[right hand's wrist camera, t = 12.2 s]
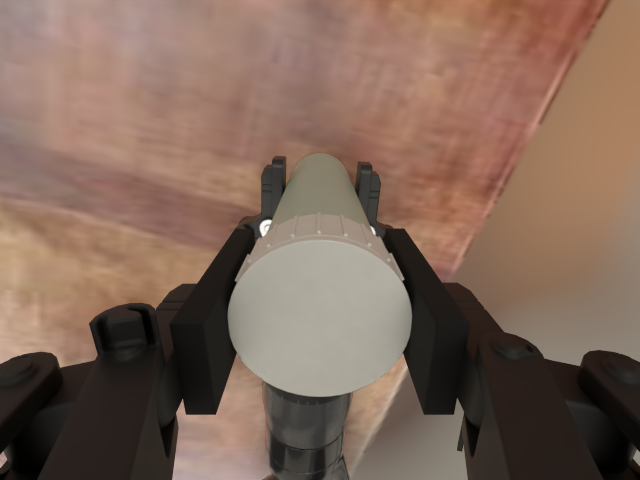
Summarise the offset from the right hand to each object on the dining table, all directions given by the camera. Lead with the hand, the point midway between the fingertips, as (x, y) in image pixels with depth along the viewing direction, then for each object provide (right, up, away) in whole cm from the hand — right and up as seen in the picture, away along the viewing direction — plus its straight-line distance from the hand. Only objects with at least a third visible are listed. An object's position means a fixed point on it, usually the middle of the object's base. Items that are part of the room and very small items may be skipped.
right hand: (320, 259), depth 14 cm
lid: (0, -2, -4) cm, 4 cm away
